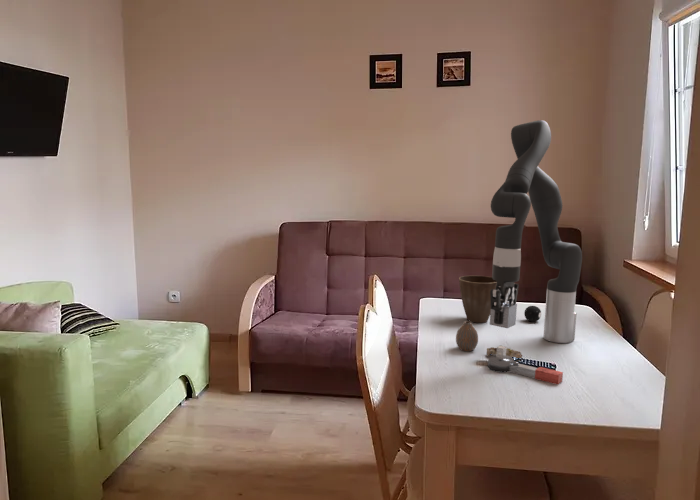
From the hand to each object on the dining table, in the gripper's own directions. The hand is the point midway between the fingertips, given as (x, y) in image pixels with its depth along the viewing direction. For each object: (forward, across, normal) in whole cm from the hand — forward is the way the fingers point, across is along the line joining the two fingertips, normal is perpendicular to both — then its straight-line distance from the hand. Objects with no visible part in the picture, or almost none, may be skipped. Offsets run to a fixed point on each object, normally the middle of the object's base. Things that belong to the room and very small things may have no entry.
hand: (502, 321), depth 164 cm
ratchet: (+14, 0, +7) cm, 15 cm away
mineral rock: (+14, -10, -3) cm, 17 cm away
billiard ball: (+14, -57, -13) cm, 60 cm away
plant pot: (+14, -43, -29) cm, 54 cm away
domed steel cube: (+1, 0, 0) cm, 1 cm away
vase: (+14, -9, -15) cm, 23 cm away
